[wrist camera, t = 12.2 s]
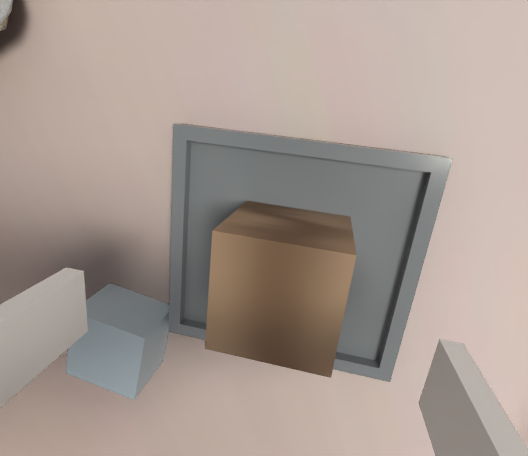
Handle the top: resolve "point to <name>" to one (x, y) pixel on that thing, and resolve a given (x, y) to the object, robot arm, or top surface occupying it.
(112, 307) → the block bluegrey
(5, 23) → the stone
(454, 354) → the robot arm
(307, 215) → the block walnut
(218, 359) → the top surface
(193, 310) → the tray
